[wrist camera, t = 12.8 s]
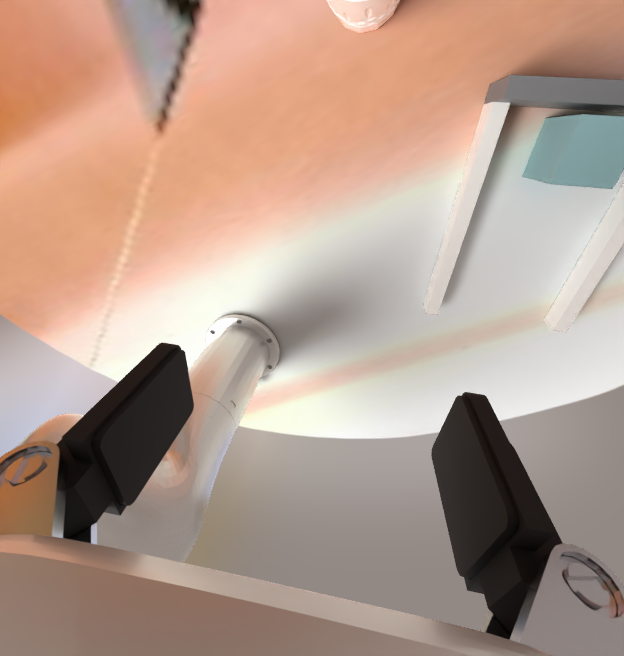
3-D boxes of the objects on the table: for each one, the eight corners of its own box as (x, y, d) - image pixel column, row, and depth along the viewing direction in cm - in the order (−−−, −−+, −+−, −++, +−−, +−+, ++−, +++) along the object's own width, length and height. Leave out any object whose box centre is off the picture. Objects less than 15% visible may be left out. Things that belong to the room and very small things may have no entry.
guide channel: (555, 321, 39) (577, 343, 34) (423, 304, 40) (428, 323, 36) (694, 94, 26) (756, 85, 22) (490, 84, 28) (510, 75, 23)
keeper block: (573, 180, 30) (612, 188, 25) (521, 176, 31) (550, 184, 26) (602, 121, 28) (652, 118, 23) (545, 118, 28) (582, 114, 23)
